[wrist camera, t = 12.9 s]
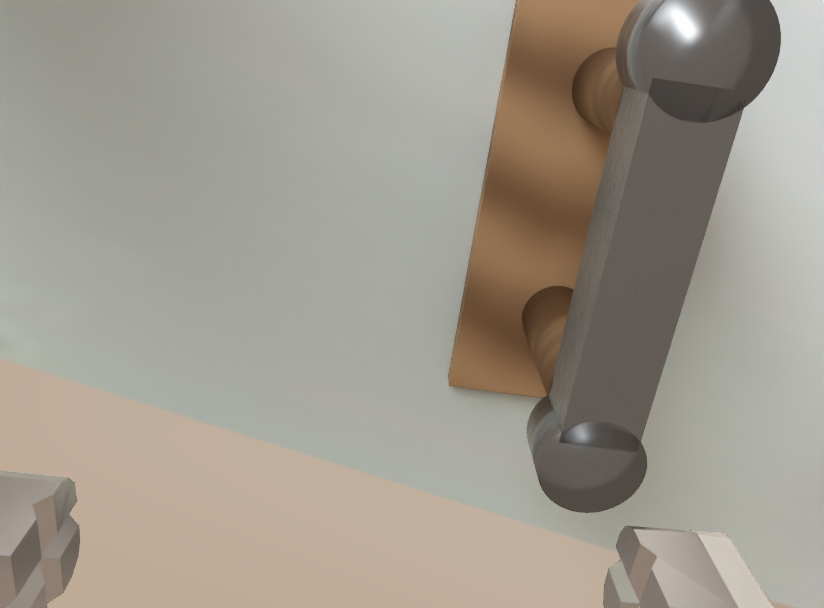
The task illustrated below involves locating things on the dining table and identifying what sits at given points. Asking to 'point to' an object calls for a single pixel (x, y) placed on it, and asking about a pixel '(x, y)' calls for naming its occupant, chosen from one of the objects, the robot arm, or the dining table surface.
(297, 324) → the dining table surface
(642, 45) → the metal bar
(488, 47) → the dining table surface
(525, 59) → the spanner rest
